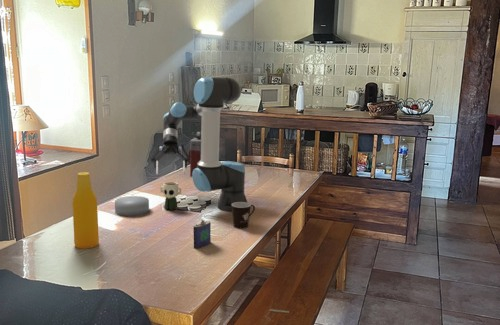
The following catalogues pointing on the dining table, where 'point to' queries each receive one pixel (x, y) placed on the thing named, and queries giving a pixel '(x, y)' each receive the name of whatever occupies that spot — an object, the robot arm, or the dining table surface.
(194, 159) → the glass decanter
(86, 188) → the beer bottle
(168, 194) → the character mug
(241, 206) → the coffee mug
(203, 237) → the flask
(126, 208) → the plinth
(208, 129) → the robot arm
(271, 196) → the dining table surface
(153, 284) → the dining table surface
